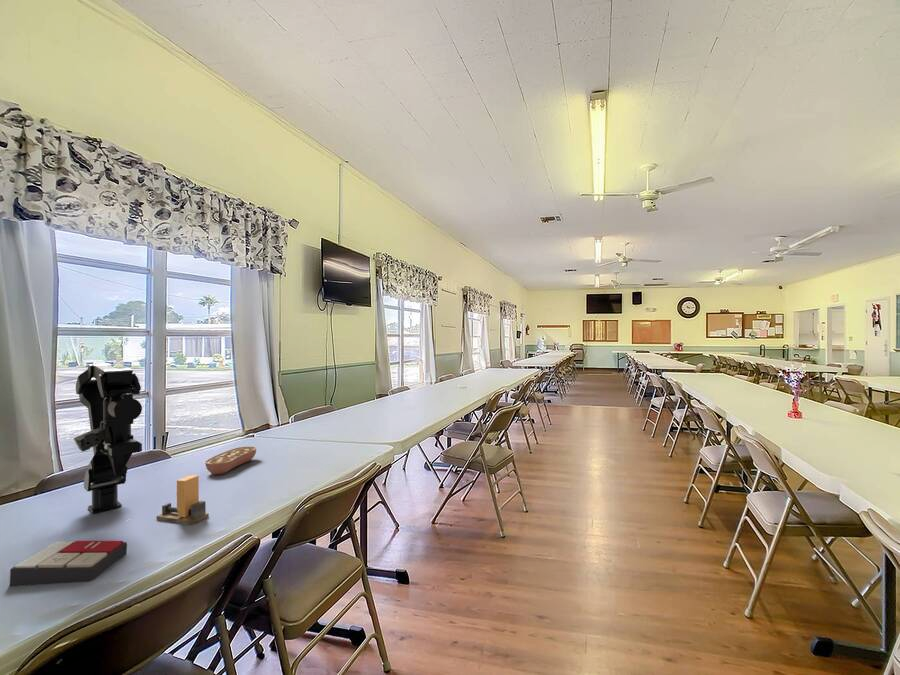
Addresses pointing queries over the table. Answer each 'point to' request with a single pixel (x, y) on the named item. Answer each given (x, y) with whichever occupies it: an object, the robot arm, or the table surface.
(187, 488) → the orange slab
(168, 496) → the table surface
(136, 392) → the robot arm
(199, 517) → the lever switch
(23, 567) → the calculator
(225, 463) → the brown oval piece
